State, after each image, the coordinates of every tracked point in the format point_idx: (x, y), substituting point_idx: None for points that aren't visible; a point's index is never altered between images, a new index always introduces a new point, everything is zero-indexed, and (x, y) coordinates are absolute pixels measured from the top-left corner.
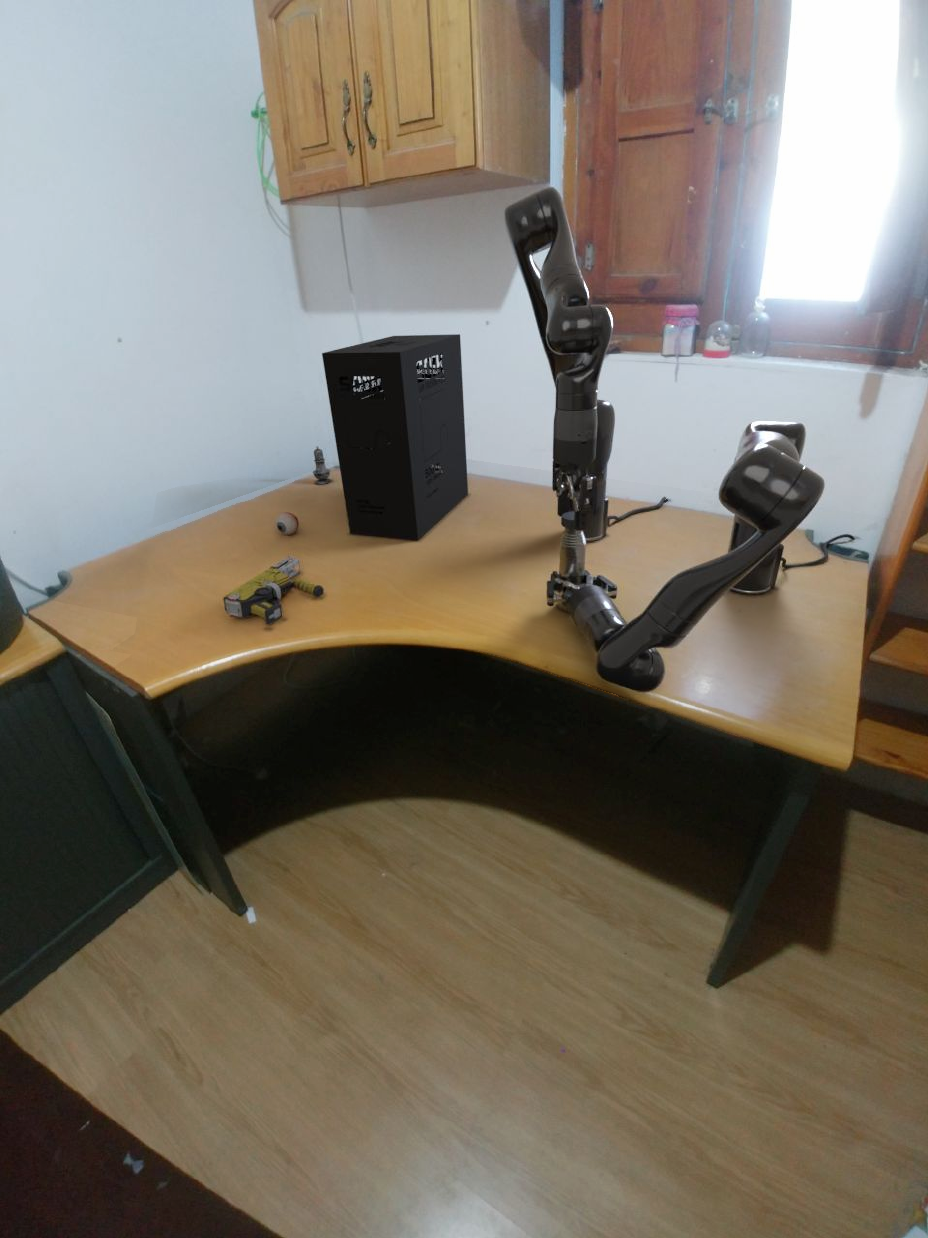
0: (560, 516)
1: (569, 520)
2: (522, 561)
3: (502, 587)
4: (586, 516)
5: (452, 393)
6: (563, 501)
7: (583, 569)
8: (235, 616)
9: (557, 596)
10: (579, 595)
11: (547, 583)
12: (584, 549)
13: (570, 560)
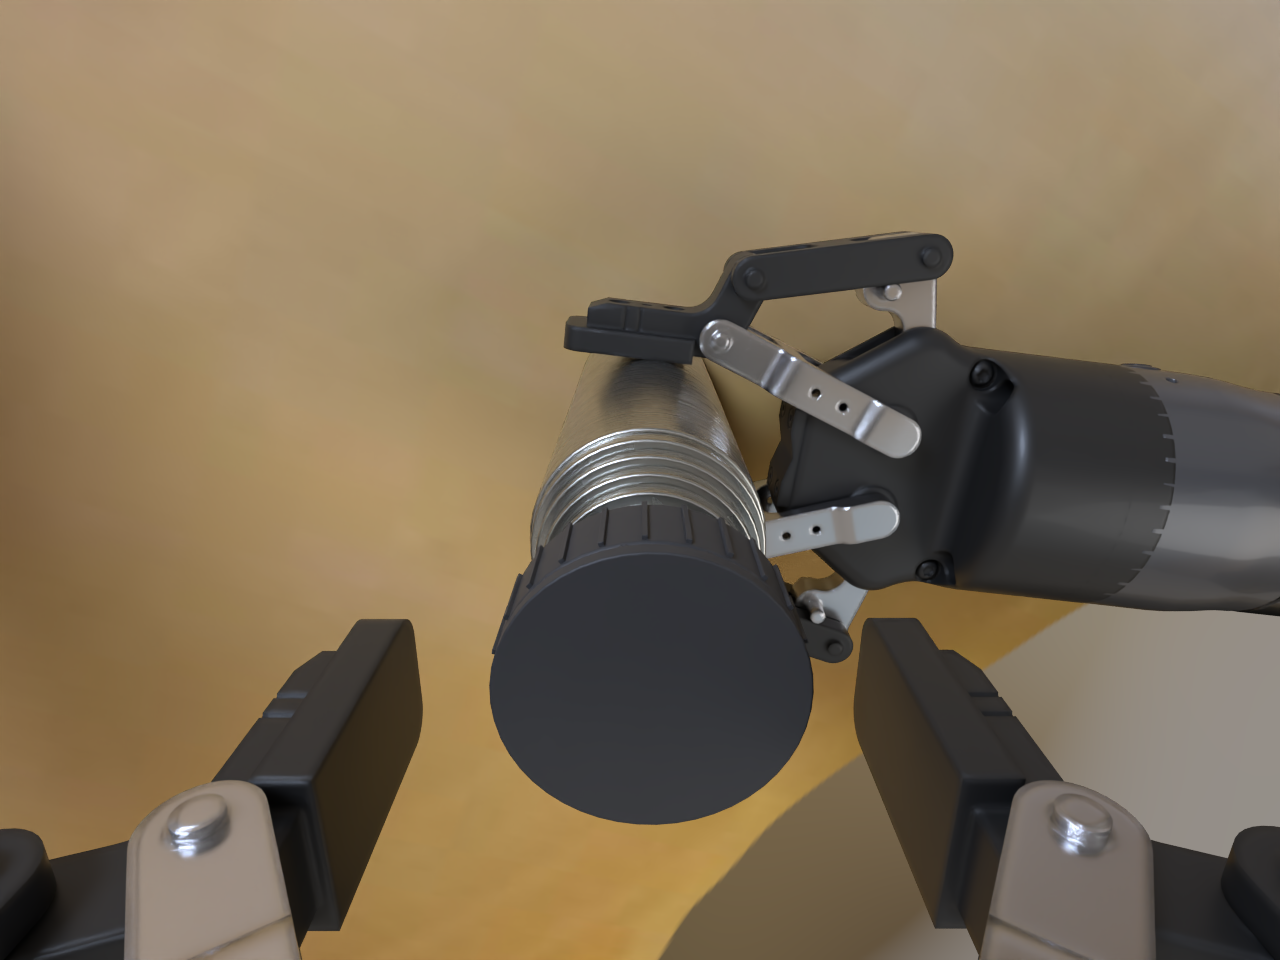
0: (421, 707)
1: (755, 782)
2: (38, 428)
3: (349, 620)
4: (1044, 756)
5: None
6: (351, 824)
7: (714, 401)
8: None
9: (839, 600)
10: (1053, 586)
11: None
12: (735, 451)
13: None
